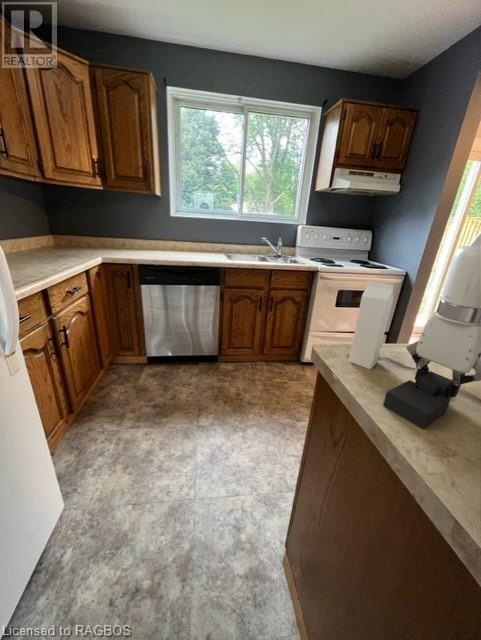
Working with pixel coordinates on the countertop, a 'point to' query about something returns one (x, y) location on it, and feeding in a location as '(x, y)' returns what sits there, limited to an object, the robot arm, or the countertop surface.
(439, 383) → the black rectangular block
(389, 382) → the countertop surface
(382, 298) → the milk
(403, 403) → the black notched block
